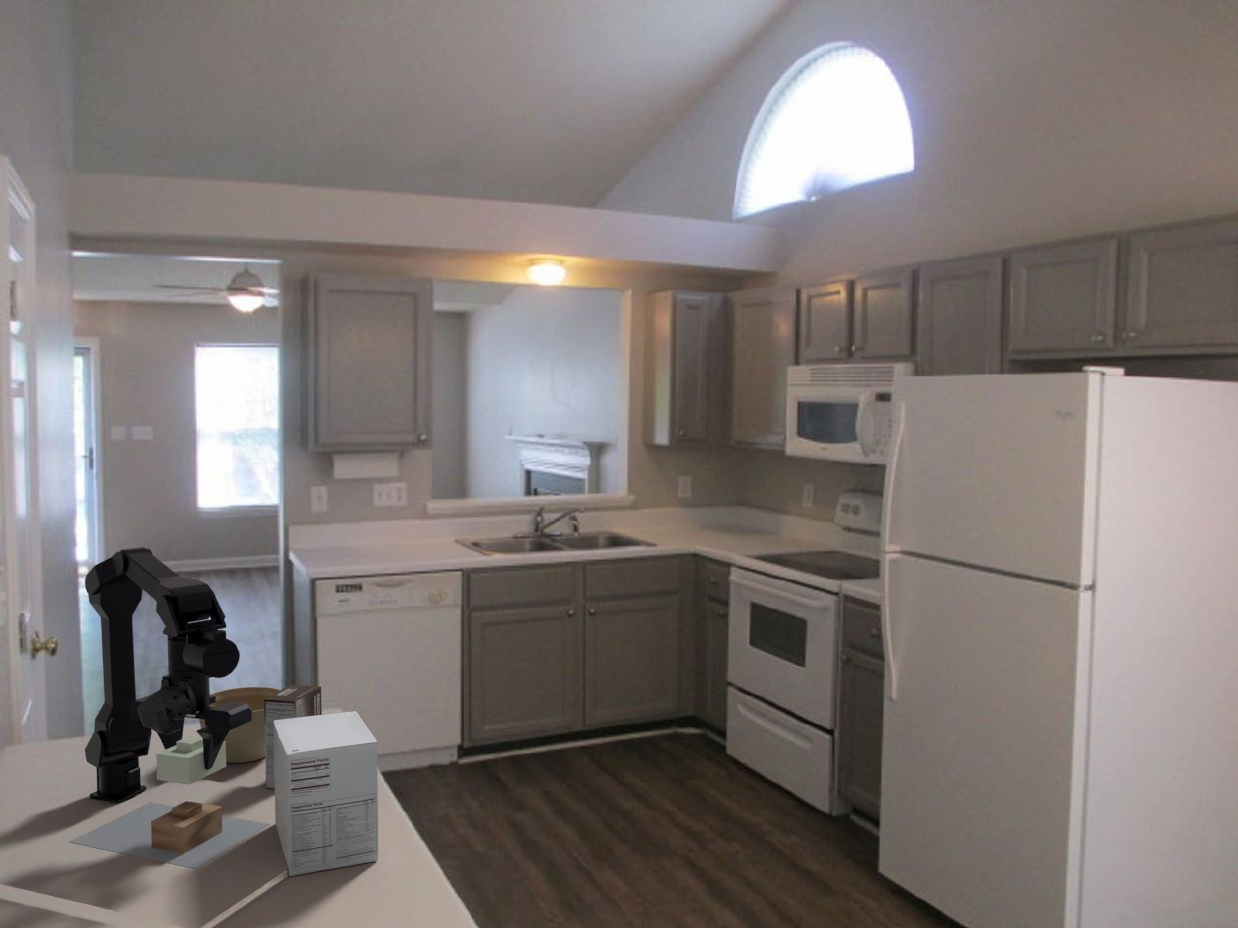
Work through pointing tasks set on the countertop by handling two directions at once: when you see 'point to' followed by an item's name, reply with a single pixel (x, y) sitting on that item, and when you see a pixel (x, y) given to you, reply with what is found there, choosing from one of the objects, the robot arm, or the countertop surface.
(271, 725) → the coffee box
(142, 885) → the countertop surface
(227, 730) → the robot arm
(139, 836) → the base plate
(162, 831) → the lower brick
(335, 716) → the supplement box
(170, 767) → the upper brick
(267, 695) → the planter bowl
